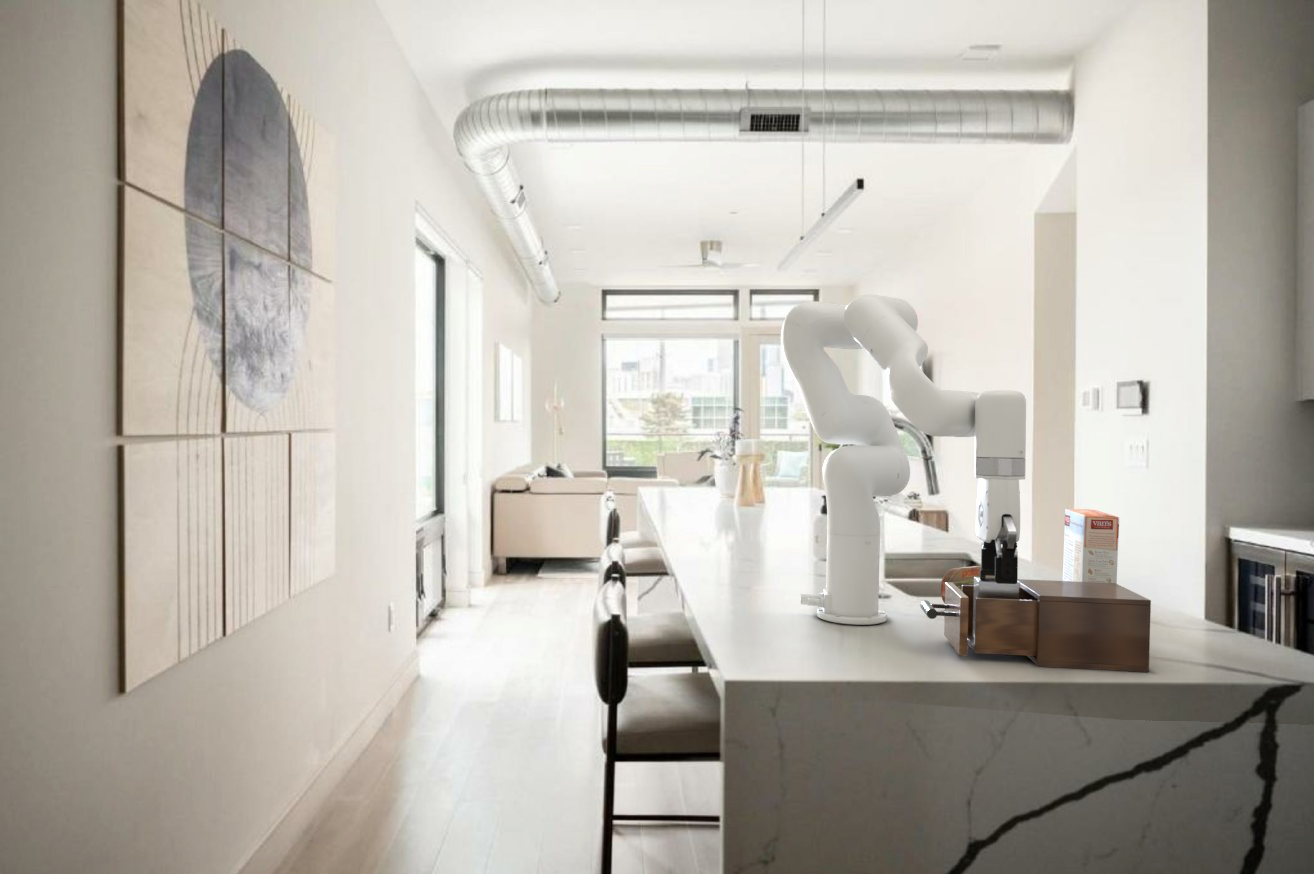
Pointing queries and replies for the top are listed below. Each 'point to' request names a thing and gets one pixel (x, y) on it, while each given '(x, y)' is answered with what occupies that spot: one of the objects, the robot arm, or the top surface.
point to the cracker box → (1090, 546)
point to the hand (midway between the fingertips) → (998, 578)
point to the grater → (991, 590)
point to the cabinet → (1090, 625)
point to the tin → (960, 577)
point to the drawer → (988, 622)
